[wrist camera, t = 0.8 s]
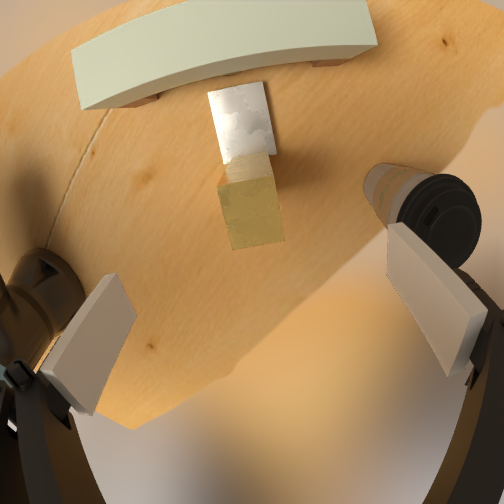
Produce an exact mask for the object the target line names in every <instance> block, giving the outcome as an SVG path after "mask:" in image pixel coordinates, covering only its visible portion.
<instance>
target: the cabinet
mask: <svg viewBox="0 0 504 504" xmlns="http://www.w3.org/2000/svg"><path fill="white" fill-rule="evenodd" d="M375 46H378V43H377V39H376V35H375V31H374V27H373V23H372V20H371V16H370V13H369V10H368V6H367V3H366V0H189V1H185V2H182V3H179V4H175V5H172V6H169V7H166V8H163V9H160V10H157V11H155V12H152V13H149V14H147V15H144V16H141V17H139V18H136V19H134V20H132V21H129V22H127V23H125V24H122V25H120V26H118V27H116V28H113V29H111V30H109V31H107V32H105V33H103V34H101V35H99V36H97V37H95V38H93V39H91V40H89V41H87V42H86V43H84V44H82V45H80V46H78V47H77V48H75V49H73V50H71V55H72V62H73V68H74V74H75V80H76V86H77V91H78V96H79V101H80V106H81V110H92V109H107V108H135V107H138V106H141V105H144V104H147V103H149V102H152V101H155V100H158V97H157V93H159V92H162V91H165V90H168V89H172V88H175V87H178V86H181V85H185V84H188V83H192V82H196V81H199V80H203V79H207V78H211V77H215V76H220V75H224V74H228V73H233V72H238V71H243V70H248V69H254V68H259V67H265V66H272V65H279V64H286V63H295V62H304V61H312V66H313V67H322V66H337V65H340V64H342V63H343V62H345V61H347V60H349V59H351V58H353V57H355V56H357V55H359V54H361V53H363V52H365V51H367V50H369V49H371V48H373V47H375Z"/></svg>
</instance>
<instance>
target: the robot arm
mask: <svg viewBox="0 0 504 504" xmlns="http://www.w3.org/2000/svg"><path fill="white" fill-rule="evenodd" d="M387 277H388V279H389V280H390V281H391V283H392V284H393V286H394V287H395V289H396V291H397V292H398V294H399V295H400V296H401V298H402V300H403V301H404V303H405V305H406V306H407V308H408V309H409V311H410V313H411V314H412V316H413V317H414V319H415V321H416V322H417V324H418V326H419V327H420V329H421V331H422V332H423V334H424V336H425V337H426V339H427V341H428V343H429V344H430V346H431V348H432V350H433V351H434V353H435V355H436V357H437V359H438V360H439V362H440V364H441V366H442V368H443V369H444V371H445V373H446V375H447V377H449V376H451V375H454V374H456V373H459V372H461V371H463V370H465V368H466V365H467V363H468V361H469V359H470V360H471V362H472V363H473V365H474V367H473V369H472V371H471V373H470V376H469V377H468V379H467V381H466V383H465V385H466V386H467V385H468V388H467V392H466V395H465V400H464V403H463V406H462V410H461V413H460V416H459V419H458V422H457V425H456V428H455V431H454V434H453V437H452V440H451V442H450V445H449V448H448V450H447V453H446V455H445V458H444V460H443V462H442V465H441V467H440V469H439V471H438V474H437V476H436V478H435V480H434V482H433V484H432V486H431V488H430V490H429V492H428V494H427V496H426V498H425V500H424V502H423V503H422V504H498V503H499V500H500V498H501V495H502V492H503V489H504V310H501V309H500V308H499V307H498V306H497V305H496V303H495V302H494V301H493V300H492V299H491V298H490V297H489V296H488V295H487V293H486V292H485V291H484V290H483V289H481V287H480V286H479V285H478V284H477V283H475V281H474V280H473V279H472V278H471V277H470V276H469V275H468V274H467V273H466V272H464V271H462V270H460V269H458V268H454V269H451V268H450V267H449V266H448V265H447V264H446V263H445V262H444V261H443V260H442V259H441V258H440V257H439V256H438V255H437V254H436V253H435V252H434V251H433V250H432V249H431V248H430V247H428V246H427V245H426V244H425V243H424V242H423V241H422V240H421V239H420V238H419V237H418V236H417V235H416V234H415V233H414V232H413V231H411V230H410V229H409V228H408V227H407V226H406V225H405V224H404V223H403V222H400V223H394V224H389V225H388V254H387ZM136 317H137V314H136V312H135V310H134V308H133V306H132V304H131V302H130V300H129V298H128V296H127V294H126V292H125V290H124V288H123V286H122V283H121V281H120V279H119V277H118V275H117V273H112V274H106V275H104V277H103V278H102V279H101V280H100V282H99V283H98V284H97V286H96V287H95V288H94V290H93V291H92V292H91V294H90V295H89V296H88V298H87V299H86V300H85V295H84V291H83V288H82V286H81V283H80V281H79V280H78V278H77V276H76V275H75V273H74V272H73V270H72V269H71V268H70V267H69V266H68V264H67V263H66V262H65V261H64V260H62V259H61V258H60V257H59V256H57V255H56V254H54V253H52V252H50V251H48V250H45V249H39V248H37V249H32V250H30V251H29V252H27V253H26V254H25V255H24V256H23V257H22V258H21V259H20V260H19V261H18V263H17V265H16V267H15V269H14V271H13V273H12V275H11V277H10V279H9V282H8V284H7V285H5V283H4V281H3V278H2V276H1V274H0V504H106V502H105V500H104V498H103V496H102V494H101V492H100V490H99V488H98V485H97V483H96V480H95V478H94V476H93V473H92V471H91V468H90V466H89V463H88V460H87V458H86V455H85V452H84V450H83V446H82V444H81V440H80V437H79V434H78V431H77V428H76V424H75V421H74V418H73V416H72V414H71V413H70V412H69V409H70V407H71V406H72V407H73V408H74V409H75V410H76V411H77V412H78V413H79V414H83V415H89V416H93V413H94V411H95V408H96V406H97V403H98V401H99V398H100V396H101V394H102V391H103V389H104V387H105V384H106V382H107V380H108V377H109V375H110V373H111V370H112V368H113V366H114V364H115V361H116V359H117V357H118V355H119V353H120V350H121V348H122V346H123V344H124V342H125V340H126V338H127V336H128V333H129V331H130V329H131V327H132V325H133V323H134V321H135V319H136ZM62 332H63V333H62ZM61 333H62V335H61V336H59V338H58V339H57V341H56V342H55V344H54V346H53V347H52V349H51V350H50V352H49V353H48V355H47V356H46V358H45V360H44V361H43V363H42V365H41V366H40V368H39V369H38V371H37V373H36V374H35V373H34V371H33V370H34V368H35V367H36V365H37V363H38V362H39V360H40V359H41V357H42V355H43V354H44V352H45V351H46V349H47V348H48V346H49V344H50V343H51V341H52V340H53V339H54V338H55V337H56V336H58V335H59V334H61ZM468 383H469V384H468ZM8 419H9V420H10V421H11V422H12V423H13V424H14V425H15V426H16V427H17V431H16V432H15V431H14V430H13V429H11V428H10V427H9V426H8Z"/></svg>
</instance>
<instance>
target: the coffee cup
mask: <svg viewBox="0 0 504 504" xmlns="http://www.w3.org/2000/svg"><path fill="white" fill-rule="evenodd" d="M364 193H365V196H366V198H367V200H368V201H369V202H370V204H371V205H372V206H373V208H374V210H375V212H376V214H377V216H378V217H379V219H380V220H381V221H382V223H383V224H384V226H385V227H386V229H387V230H388V225H389V224H394V223H400V222H403V223H404V224H405V225H406V226H407V227H408V228H409V229H410V230H411V231H413V232H414V233H415V234H416V235H417V236H418V237H419V238H420V239H421V240H422V241H423V242H424V243H425V244H426V245H427V246H428V247H430V248H431V249H432V250H433V251H434V252H435V253H436V254H437V255H438V256H439V257H440V258H441V259H442V260H443V261H444V262H445V263H446V264H447V265H448V266H449V267H450V268H451V269H454V268H459V267H460V266H461V265H462V264H463V263H464V262H465V261H466V260H467V259H468V258H469V257H470V255H471V254H472V252H473V250H474V249H475V247H476V245H477V242H478V240H479V236H480V232H481V225H482V224H481V223H482V219H481V212H480V208H479V206H478V204H477V201H476V198H475V195H474V194H473V192H472V190H471V189H470V188H469V186H468V185H466V184H465V183H464V182H463V181H462V180H460V179H459V178H458V177H456V176H453V175H450V174H437V175H435V174H433V173H430V172H426V171H422V170H418V169H414V168H410V167H406V166H396V165H392V164H387V163H382V164H378V165H376V166H375V167H373V168H372V169H371V170H370V172H369V173H368V174H367V176H366V178H365V181H364Z"/></svg>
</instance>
